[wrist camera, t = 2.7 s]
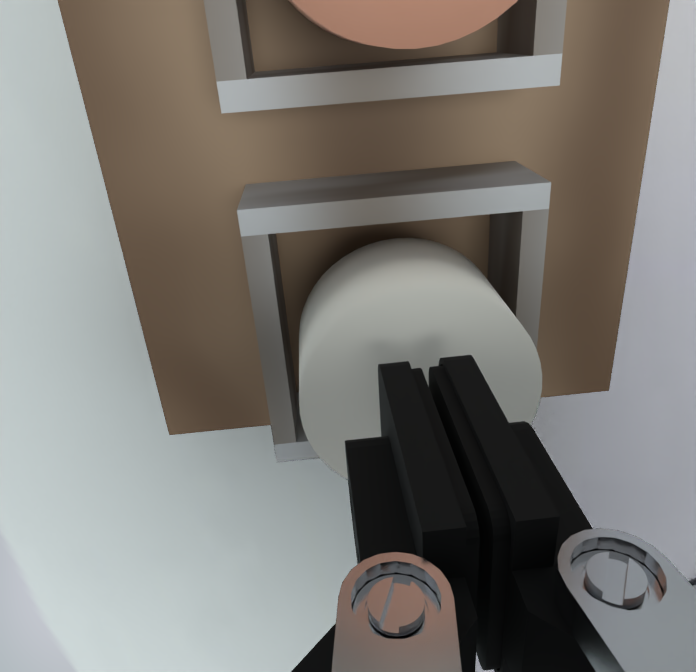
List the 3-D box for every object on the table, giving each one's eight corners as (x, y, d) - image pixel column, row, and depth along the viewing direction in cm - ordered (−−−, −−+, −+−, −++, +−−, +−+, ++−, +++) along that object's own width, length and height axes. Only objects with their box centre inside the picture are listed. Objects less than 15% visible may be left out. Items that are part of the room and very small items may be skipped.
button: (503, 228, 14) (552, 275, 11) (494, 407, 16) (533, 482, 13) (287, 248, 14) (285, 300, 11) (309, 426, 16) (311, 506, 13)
